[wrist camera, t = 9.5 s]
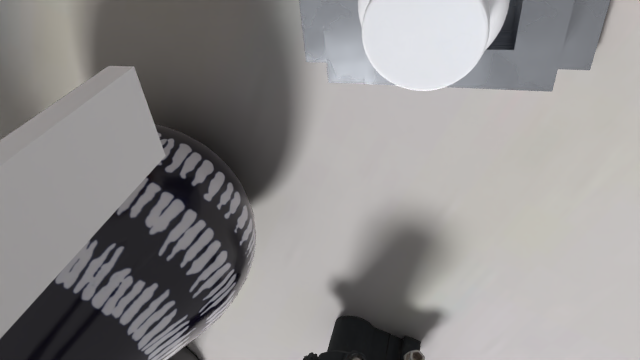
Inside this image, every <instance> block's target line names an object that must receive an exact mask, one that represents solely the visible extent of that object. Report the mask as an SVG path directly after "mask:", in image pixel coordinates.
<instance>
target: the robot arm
mask: <svg viewBox="0 0 640 360" xmlns="http://www.w3.org/2000/svg"><path fill="white" fill-rule="evenodd" d="M165 156H166V155H165V152H164V150H163V147H162V144H161V141H160V138H159V135H158V133H157V130H156V127H155V124H154V121H153V118H152V116H151V113H150V110H149V107H148V104H147V101H146V99H145V96H144V93H143V90H142V87H141V84H140V82H139V79H138V76H137V73H136V70H135V67H134V66H108V67H106V68H105V69H103V70H102V71H100V72H99V73H97V74H96V75H94V76H93V77H92V78H90V79H89V80H87V81H86V82H84V83H83V84H81V85H80V86H78V87H77V88H76V89H74V90H73V91H71V92H70V93H68V94H67V95H65V96H64V97H62V98H61V99H59V100H58V101H57V102H55V103H54V104H52V105H51V106H49V107H48V108H46V109H45V110H43V111H42V112H41V113H39V114H38V115H36V116H35V117H33V118H32V119H30V120H29V121H27V122H26V123H24V124H23V125H22V126H20V127H19V128H17V129H16V130H14V131H13V132H11V133H10V134H8V135H7V136H6V137H4V138H3V139H1V140H0V339H1V337H2V336H3V335H4V334H5V333H6V332H7V331H8V330H9V329H10V327H11V326H12V325H13V324H14V323H15V322H16V321H17V320H18V319H19V318H20V316H21V315H22V314H23V313H24V312H25V311H26V310H27V309H28V308H29V306H30V305H31V304H32V303H33V302H34V301H35V300H36V299H37V298H38V296H39V295H40V294H41V293H42V292H43V291H44V290H45V289H46V288H47V287H48V285H49V284H50V283H51V282H52V281H53V280H54V279H55V278H56V277H57V275H58V274H59V273H60V272H61V271H62V270H63V269H64V268H65V267H66V265H67V264H68V263H69V262H70V261H71V260H72V259H73V258H74V257H75V256H76V254H77V253H78V252H79V251H80V250H81V249H82V248H83V247H84V246H85V244H86V243H87V242H88V241H89V240H90V239H91V238H92V237H93V236H94V234H95V233H96V232H97V231H98V230H99V229H100V228H101V227H102V226H103V225H104V223H105V222H106V221H107V220H108V219H109V218H110V217H111V216H112V215H113V213H114V212H115V211H116V210H117V209H118V208H119V207H120V206H121V205H122V203H123V202H124V201H125V200H126V199H127V198H128V197H129V196H130V195H131V194H132V192H133V191H134V190H135V189H136V188H137V187H138V186H139V185H140V184H141V182H142V181H143V180H144V179H145V178H146V177H147V176H148V175H149V174H150V172H151V171H152V170H153V169H154V168H155V167H156V166H157V165H158V164H159V163H160V161H161V160H162V159H163V158H164V157H165ZM168 360H198V359H197V357H196V356H195V355H194V354H193V353H192V352H191V351H190V350H188V349H187V348H186V347H184V348H182V349H181V350H180V351H178V352H177V353H176V354H174V355H173V356H172V357H170V358H169V359H168Z"/></svg>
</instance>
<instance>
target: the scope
mask: <svg viewBox="0 0 640 360" xmlns="http://www.w3.org/2000/svg"><path fill="white" fill-rule="evenodd" d="M420 344H421V342H420V341H418V340H415V339H413V338H410V337H408V336H404V338H403V340H402V339H400V338H398V337H396V336H394V335H391V334H389V333H387V332H384V331H382V330H379V329H377V328H375V327H374V326H373V325H371V324H370V323H369V322H368V321H366V320H364V319H362V318H359V317H355V316H343V317H340V318H338V319H337V320H336V322H335V326H334V329H333V333H332V336H331V340H330V343H329V347H328V350H327V352H325V353H321V354H320V355H319V357H318V356H317V354H313V352H312V353H309V355H308V356H304V358H303V360H425V356H424V355H423V354H422V353H421V352H420Z"/></svg>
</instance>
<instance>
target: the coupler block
mask: <svg viewBox="0 0 640 360" xmlns="http://www.w3.org/2000/svg"><path fill="white" fill-rule="evenodd" d="M299 3H300V11H301V20H302V29H303V38H304V46H305V55H306V62H327V72H328V82H332V83H357V84H381V85H395V84H393V83H391V82H390V81H388V80H386V79H385V78H384V77H382V76H381V75H380V74H379V73H378V72H377V71H376V69H375V68H374V67H373V66H372V64H371V63H370V61H369V59H368V57H367V55H366V53H365V50H364V46H363V42H362V27H361V23H360V19H359V13H358V0H299ZM609 3H610V0H510V2H509V8H508V12H507V15H506V19H505V21H504V24H503V26H502V28H501V30H500V32H499V33H498V35H497V37H496V38H495V39H494V41H493V42H492V43H491V45H490V46H489V47H488V48H487V49H486V50H485V51H484V53H483V55H482V56H481V58H480V60H479V61H478V63H477V64H476V65H475V67H474V68H473V69H472V70H471V71H470V72H469V73H468V74H467V75H466V76H464V77H463V78H461V79H460V80H459V81H457V82H455V83H454V84H451V85H449V86H447V87H455V88H480V89H504V90H529V91H552V90H553V86H554V82H555V78H556V74H557V70H558V69H572V70H590V68H591V64H592V61H593V58H594V54H595V51H596V47H597V44H598V41H599V37H600V34H601V30H602V27H603V24H604V20H605V17H606V13H607V10H608V6H609Z"/></svg>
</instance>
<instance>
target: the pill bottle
mask: <svg viewBox="0 0 640 360" xmlns="http://www.w3.org/2000/svg"><path fill="white" fill-rule="evenodd" d="M509 2H510V0H358V13H359V19H360V23H361V27H362V42H363V46H364V50H365V53H366V55H367V57H368V59H369V61H370V63H371V64H372V66H373V67H374V68H375V69H376V71H377V72H378V73H379V74H380V75H381V76H382V77H384V78H385V79H386V80H388V81H390V82H391V83H393V84H395V85H397V86H400V87H403V88H406V89H410V90H417V91H430V90H436V89H440V88H444V87H447V86H449V85H451V84H454V83H455V82H457V81H459V80H460V79H461V78H463V77H464V76H466V75H467V74H468V73H469V72H470V71H471V70H472V69H473V68H474V67H475V65H476V64H477V63H478V61H479V60H480V58H481V56H482V55H483V53H484V51H485V50H486V49H487V48H488V47H489V46H490V45H491V43H492V42H493V41H494V39H495V38H496V37H497V35H498V33H499V32H500V30H501V28H502V26H503V24H504V21H505V19H506V15H507V12H508V8H509Z"/></svg>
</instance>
